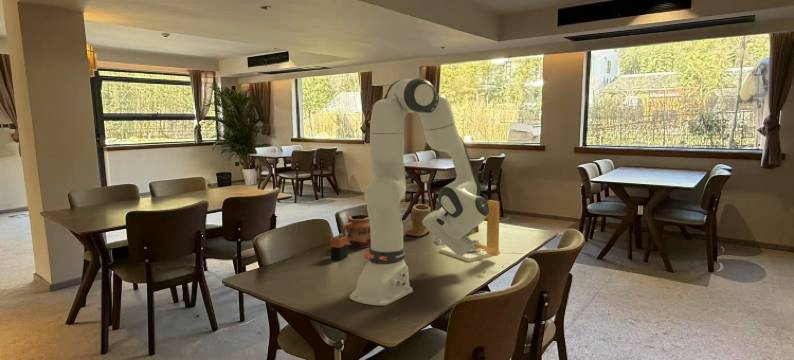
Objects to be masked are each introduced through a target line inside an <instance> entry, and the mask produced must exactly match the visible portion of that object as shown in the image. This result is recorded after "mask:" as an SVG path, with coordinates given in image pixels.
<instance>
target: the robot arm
mask: <svg viewBox="0 0 794 360" xmlns="http://www.w3.org/2000/svg"><path fill="white" fill-rule="evenodd" d="M451 107H452V106H451V104H450V102H449V100H448V98H447V97H446V95H444V94H442V93H438V92H437V91H436V88H435V86H434V85H433V84H432V83H431V82H430V81H428V80H427V79H425V78H420V77H419V78H417V77H416V78H404V79H401V80H396V81H394V82H392V84H391V85H390V86H389V87H388V89H387V91H386V94H385V95H384V98H383V99H382V98H381V99H379V100H377V101H375V103H374V104H373V106H372V109H371V116H370V124H369V125H370V126H369V158H370V161H371V166H372V172H373V179H372V180H371V181H369V183H368V184H367V186H366V188H365V191H364V194H363V195H364V196H363V198H364V201H365V204H366V211H367V215H368V216H369V221H370V235H371V246H369V250H368V252H365V253H364V255H363V259H365V260H367V263H366V264H365V266H364V267H363V268H362V271H361V272H360V274H359V276H358V278H357V281H356V282H357V283H356V288H355V289H354V290H353V291H352V292H351V293H350V294H349V299H350V300H352V301H354V302H357V303H360V304H365V305H371V306H389V305H390V304H392V303H394V302H396V301H398V300H399V299H402V298H403V297H405V296H408V295H409V294H412V293H414V290H413V287H412V286H410V276H409V266H408V265H407V264H406V261H405V256H406V251H405V247H404V223H403V222H402V221H403V220H402V214H401V204H400V203H401V201H402V200H403V199H404V197H405V195H406V192H407V184H406V171H405V170H406V169H405V162H404V161H405V160H404V135H405V134H404V133H405V132H404V123H405V118H406V116H407V114H412V113H416V114H418V117H420V120H421V124H422V129H423V134H424V139H425V141H426V143H427V145H428V146H429V147H430V148H432V150H435V151H437V152H443V153H447V154H448V155H449V156H450V158H451V161H452V164H453V167H454V170H455V173H456V177H455V179H454V180H453V181H452V182H450V183H448V184H446V185H445V186H443V187H442V188H440V190H439V191H438V195H437V198H438V202H439V205H440V208H438V210H437V209H436V210H432V211H431V213H430V214H428V215H427V216H426V217H425V218H424V219H423V221H422V224H423V225H424V226H425V227H426V228H427V229H429V230H430V231H429V232H431V233H432V234H433V235H434V237H433V240H432V241H431V242H432V243H433V244H434V246H436V247H440V246H446V247H449V248H450V249H451V250H452V251H453V252H454V253H456V254H457V255H458V256H460V257H462V256H463V255H465V254H466V253H467V251H468V250H472V249H473V248H474V247H475V244H474V242H473V239H471V238H470V237H469V236H467V235H466V234H467V233H469V232H470V231H471V229H472V228H475V227H477V226H478V225H479V226H480V224H482V223H483V222H484V221H485V220H487V216H488V214H489V205H488V203H487V200H486V199H485V198H484V197H483V196H481V192H482V188H481V187H482V186H481V183H480V181H479V179H478V178H477V175H476V174H475V171H474V168H473V166H472V163H471V160H470V157H469V156H470V155H469V153H468V150H467V148H466V144H465V142H464V140H463V138H462V137H461V136H460V135H459V132H458V130H457V127H456V126H457V125H456V122H455V118H454V115H453V114H454V112H453V110H452V108H451ZM479 226H478V227H479Z"/></svg>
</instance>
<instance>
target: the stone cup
mask: <svg viewBox="0 0 794 360" xmlns="http://www.w3.org/2000/svg"><path fill="white" fill-rule="evenodd" d="M410 211H411V212H410V219H411V224H412V227H411V228H409V229H407V230H406V231H405V234H406V235H408V236H412V237H413V236H415V237H421V236H424V235H426V234H428V233H429V232H431V231H430V230H429V229H427V228H426V227H425V226H424V225H423V224H422V221H423V219H424V218H425V217H426V216H427V215H428V214H430V213H431V212H432V210H431V207H430V206H428V205H427V204H425V203H423V204H422V203H418V204H414V205H413V206H412V208H411V210H410Z"/></svg>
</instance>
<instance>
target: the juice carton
mask: <svg viewBox="0 0 794 360" xmlns="http://www.w3.org/2000/svg"><path fill="white" fill-rule="evenodd" d="M479 226H480V224H479V225H478V226H477V227H475V228H472V229H471V231H470V232H469V233H467V234H466V235H467V236H468V237H469V236H471V235H473V234H476V232H477V233H479V231H480V228H479Z"/></svg>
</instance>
